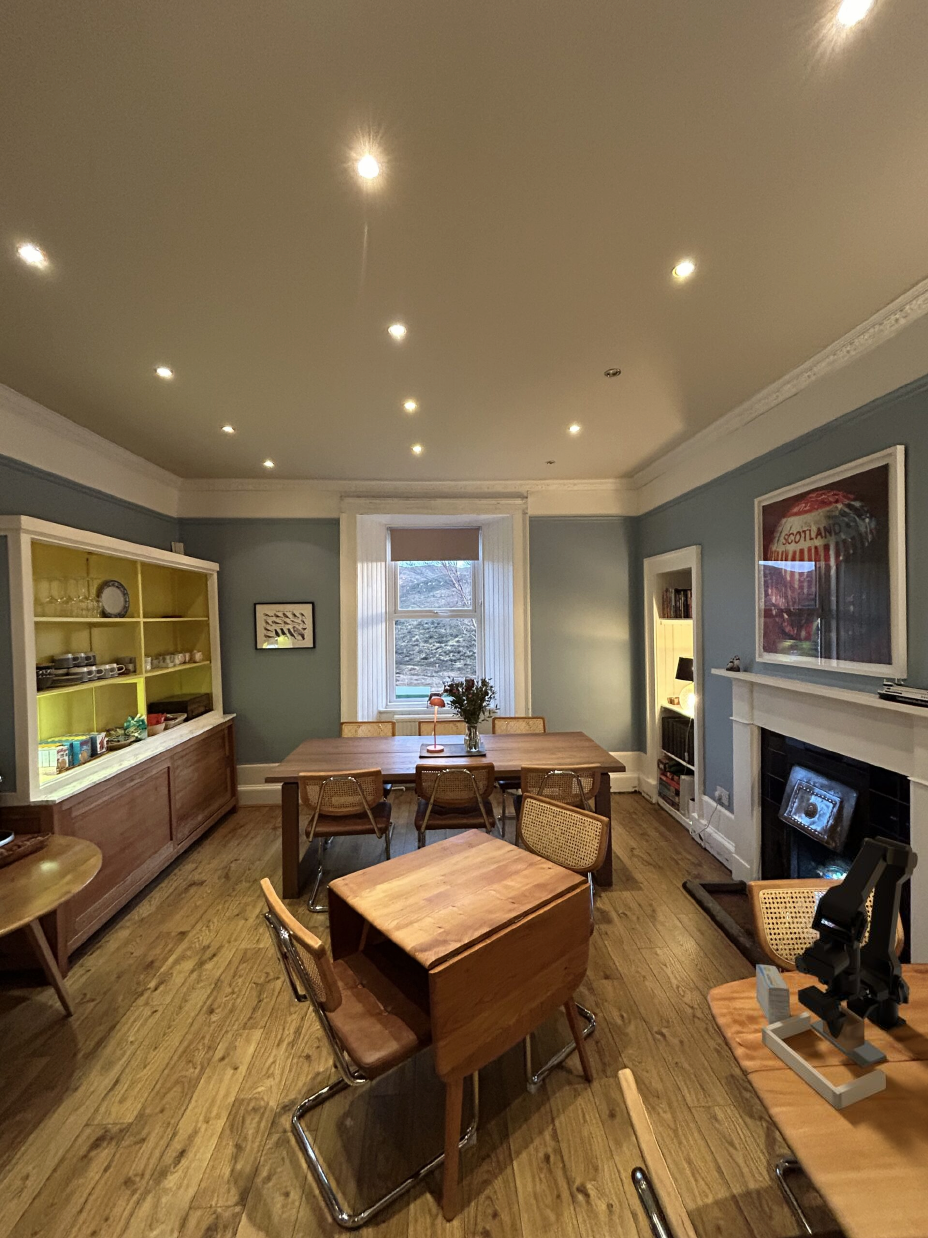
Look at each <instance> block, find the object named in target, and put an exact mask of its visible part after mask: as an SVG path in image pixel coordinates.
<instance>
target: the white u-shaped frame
mask: <svg viewBox="0 0 928 1238" xmlns="http://www.w3.org/2000/svg"><path fill="white" fill-rule="evenodd" d="M811 1020H812V1018H811V1014H810V1013H809V1012H808V1011H804V1012H802V1013H799V1014H796V1015H793V1016H790V1018H788V1019H785V1020H782V1021H779V1022H776V1023H774V1024H771V1025H769V1024H768V1025H765V1026H763V1027H761V1042H762V1043H763V1044H764V1045H765V1046H766V1047H767V1048H768V1049H769V1050H770V1051H772V1052H773V1053H774V1054H775V1055H776V1056H777V1057H778V1058H779V1059H781V1060H782V1062H784V1063H785V1064H786V1065H787V1066H788V1067H789V1068H791V1070H793V1071H794V1072H795V1073H796V1074H798V1076H799V1077H800V1078H802V1080H804V1081H805V1082H806V1083H807V1084H808V1085H809V1086H810V1087H811V1088H813V1089H814V1090H815V1092H817V1093H818V1094H819V1095H821V1097H822V1098H823V1099H824V1100H826V1101H827V1102H828V1103H829V1104H830V1105H832V1107H834V1109H836V1110H837V1111H839V1110H841V1109H844V1108H847V1107H848V1106H850V1105H853V1104H855V1103H857V1102H859V1101H861V1100H864V1099H865V1098H868V1097H870V1096H872V1095H874V1094H876V1093H879V1092H880V1091H881V1092H882V1091H884V1090H885V1089H887V1088H886V1086H887V1082H886V1080H887V1079H886V1078H887V1077H886V1076H887V1073H886V1072H885V1071H884V1070H883V1069H881V1068H877V1069H876V1070H873V1071H871V1072H869V1073H867V1074H865V1075H862V1076H860V1077H858V1078H855V1079H853V1080H851V1081H848V1082H847V1083H844V1084H841V1085H839V1086H837V1087H836V1086H834V1084H832V1083H831V1081H829V1080H828V1079H827V1078H826V1077H825V1076H824V1075H822V1074H821V1073H820V1072H818V1071H817V1070H816V1069H815V1068H814V1067H813V1066H811V1065H810V1064H809V1063H808V1062H807V1061H806V1060H804V1058H803V1057H801V1056H800V1055H799V1054H798V1053H797V1052H796V1051H794V1050H793V1049H792V1048H791V1047H789V1045H787V1043H785V1042H784V1041H783V1040H785V1039H787V1038H789V1037H792V1036H794V1035H798V1034H800V1033H802V1032H806V1031H808V1030H811V1029H812V1027H811V1023H812V1021H811Z"/></svg>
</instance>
